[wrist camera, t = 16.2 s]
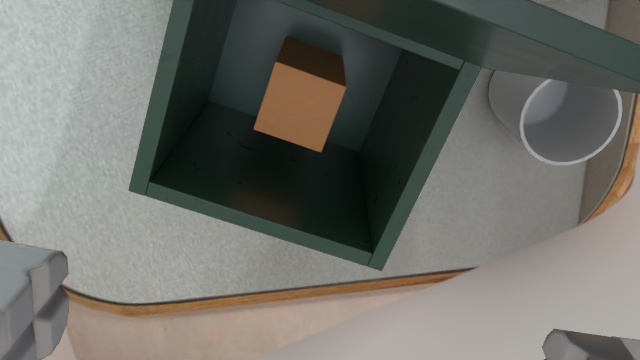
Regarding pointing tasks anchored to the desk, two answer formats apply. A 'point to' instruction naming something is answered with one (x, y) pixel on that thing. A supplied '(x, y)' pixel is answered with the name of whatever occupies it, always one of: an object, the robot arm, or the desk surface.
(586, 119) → the cup
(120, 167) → the desk surface
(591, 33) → the bin lid
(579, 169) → the desk surface
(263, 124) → the carton
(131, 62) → the desk surface
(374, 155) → the trash bin
